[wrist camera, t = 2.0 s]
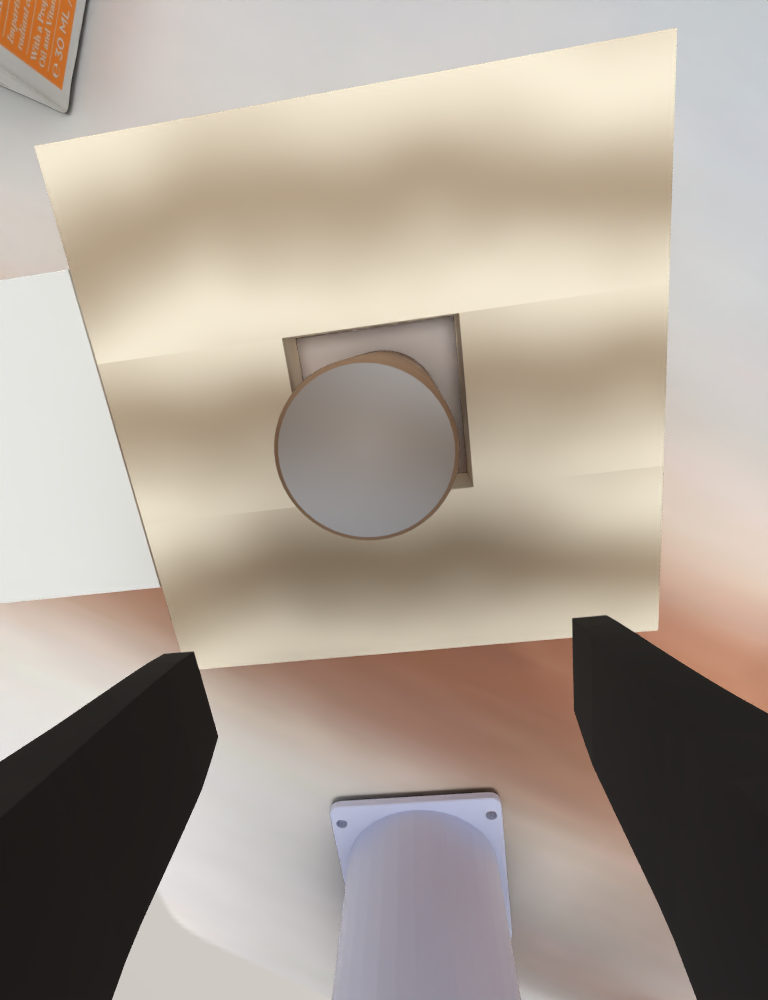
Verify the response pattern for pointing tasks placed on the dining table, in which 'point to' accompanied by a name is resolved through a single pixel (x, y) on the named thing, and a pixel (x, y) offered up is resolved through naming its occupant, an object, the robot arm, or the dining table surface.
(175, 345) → the bore board
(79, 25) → the skincare box
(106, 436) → the rubber mat
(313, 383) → the brown wooden cylinder
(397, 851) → the robot arm
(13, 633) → the dining table surface
